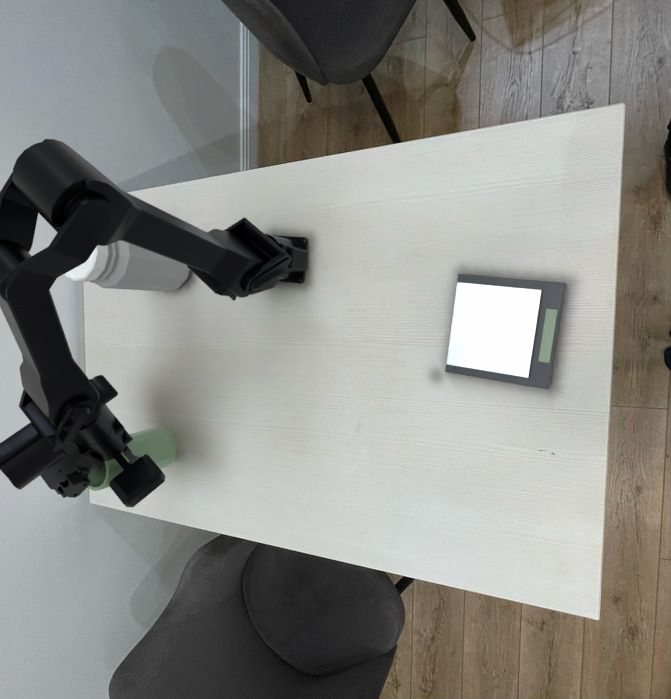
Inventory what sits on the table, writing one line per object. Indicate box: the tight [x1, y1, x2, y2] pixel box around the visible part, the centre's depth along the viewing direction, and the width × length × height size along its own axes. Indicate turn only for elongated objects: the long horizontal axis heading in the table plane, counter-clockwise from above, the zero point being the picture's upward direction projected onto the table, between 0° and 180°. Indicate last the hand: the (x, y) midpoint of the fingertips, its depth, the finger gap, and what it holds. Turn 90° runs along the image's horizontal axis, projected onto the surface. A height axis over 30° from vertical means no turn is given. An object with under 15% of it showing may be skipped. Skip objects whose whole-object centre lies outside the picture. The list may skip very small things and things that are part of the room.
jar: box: [63, 241, 191, 293], centre depth 80 cm, size 10×10×18 cm
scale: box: [444, 273, 567, 390], centre depth 63 cm, size 12×12×3 cm
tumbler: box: [86, 426, 177, 492], centre depth 82 cm, size 7×7×13 cm
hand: (124, 463), depth 82 cm, fingers closed on tumbler, 7 cm apart
